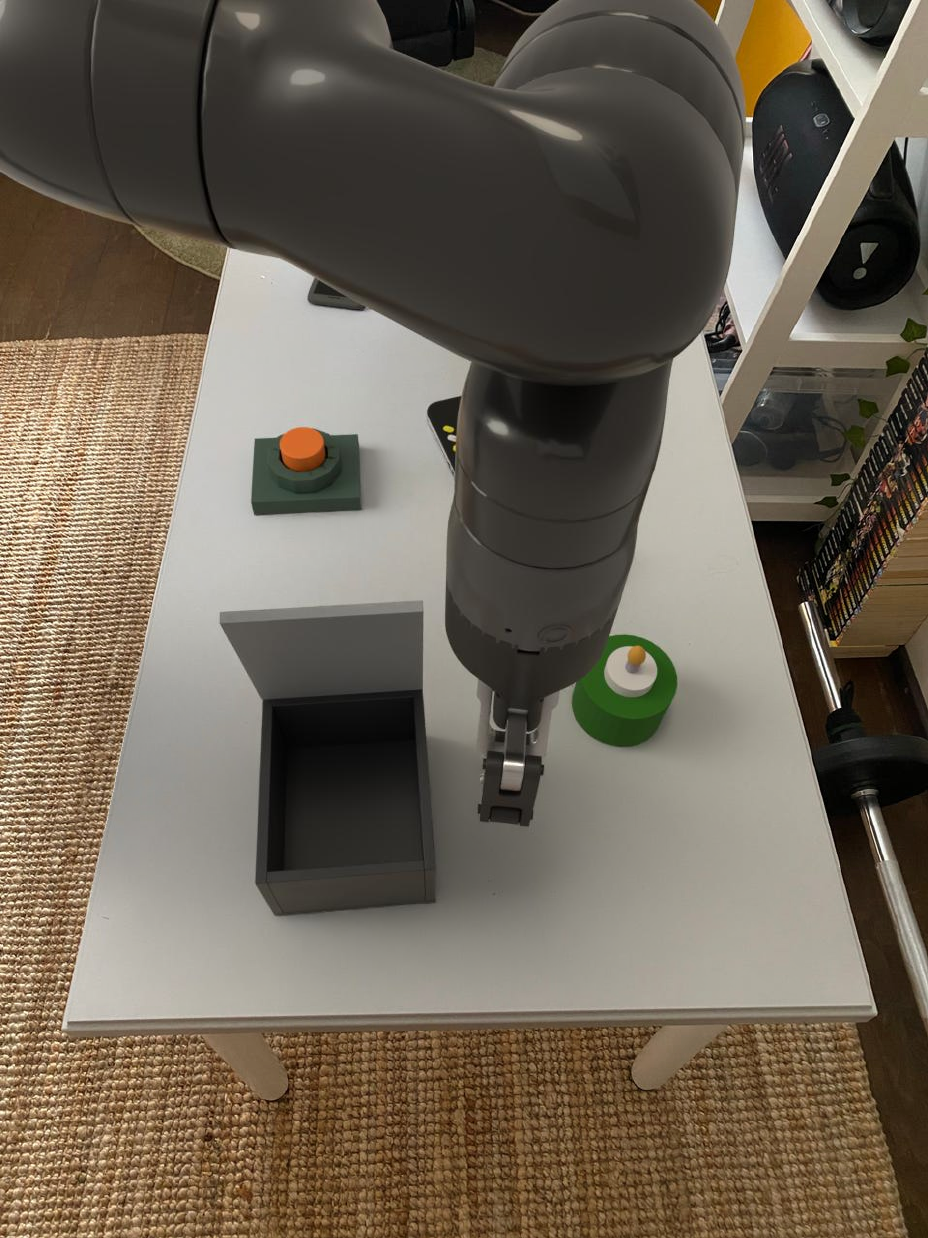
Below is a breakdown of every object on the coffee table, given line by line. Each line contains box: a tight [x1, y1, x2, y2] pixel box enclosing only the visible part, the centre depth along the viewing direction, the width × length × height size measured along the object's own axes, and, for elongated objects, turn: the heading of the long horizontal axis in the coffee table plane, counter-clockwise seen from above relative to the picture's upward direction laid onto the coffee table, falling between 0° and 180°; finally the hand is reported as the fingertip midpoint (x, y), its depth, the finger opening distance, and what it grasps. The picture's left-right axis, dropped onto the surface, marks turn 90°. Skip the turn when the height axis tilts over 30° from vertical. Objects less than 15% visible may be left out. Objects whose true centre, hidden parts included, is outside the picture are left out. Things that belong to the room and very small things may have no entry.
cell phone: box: [307, 277, 365, 310], centre depth 111 cm, size 7×14×1 cm, turn 171°
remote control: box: [426, 395, 462, 477], centre depth 95 cm, size 6×13×2 cm, turn 20°
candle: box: [571, 633, 678, 748], centre depth 74 cm, size 8×8×10 cm
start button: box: [280, 426, 326, 472], centre depth 88 cm, size 4×4×2 cm
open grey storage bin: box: [254, 688, 437, 917], centre depth 68 cm, size 15×13×9 cm
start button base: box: [250, 427, 362, 516], centre depth 90 cm, size 11×9×4 cm
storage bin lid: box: [218, 599, 424, 701], centre depth 61 cm, size 15×13×1 cm
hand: (507, 735), depth 50 cm, fingers open, 8 cm apart
